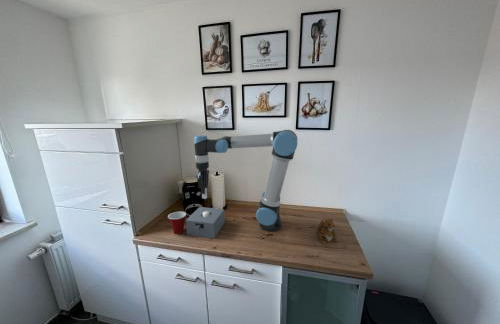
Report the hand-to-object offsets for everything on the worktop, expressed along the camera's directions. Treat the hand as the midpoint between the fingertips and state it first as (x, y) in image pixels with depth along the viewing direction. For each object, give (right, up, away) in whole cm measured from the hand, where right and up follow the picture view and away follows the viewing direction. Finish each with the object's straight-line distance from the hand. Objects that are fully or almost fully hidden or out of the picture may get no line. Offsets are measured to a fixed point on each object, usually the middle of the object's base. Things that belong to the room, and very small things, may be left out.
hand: (204, 198), depth 125 cm
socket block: (0, -21, +5) cm, 21 cm away
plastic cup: (-17, -22, +2) cm, 28 cm away
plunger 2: (+2, -13, +11) cm, 17 cm away
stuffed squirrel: (+73, -23, -5) cm, 77 cm away
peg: (0, -21, +6) cm, 21 cm away
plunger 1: (-2, -17, -3) cm, 17 cm away
